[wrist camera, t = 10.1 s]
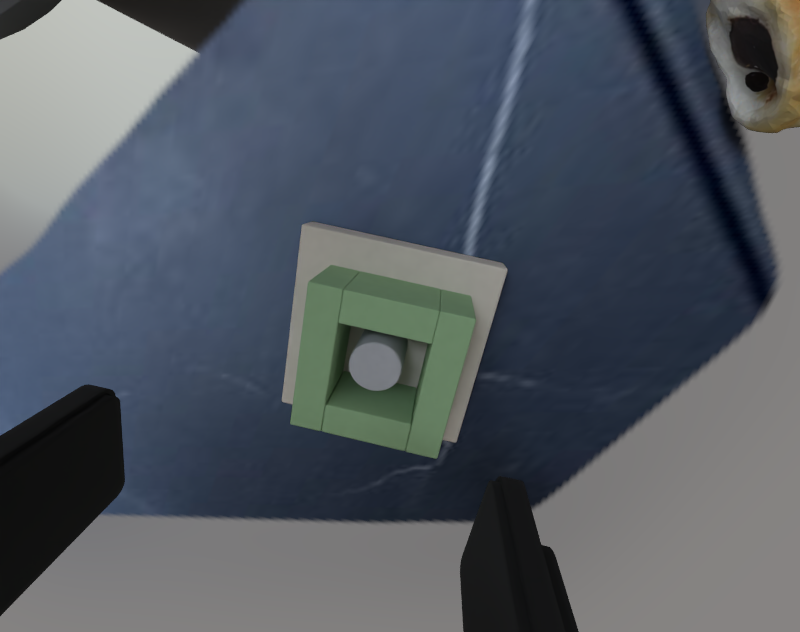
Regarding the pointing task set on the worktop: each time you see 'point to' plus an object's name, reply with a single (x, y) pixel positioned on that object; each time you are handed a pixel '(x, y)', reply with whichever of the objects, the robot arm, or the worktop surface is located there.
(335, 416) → the green hollow square block
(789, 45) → the pastry
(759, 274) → the worktop surface
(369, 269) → the base pad
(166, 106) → the worktop surface
